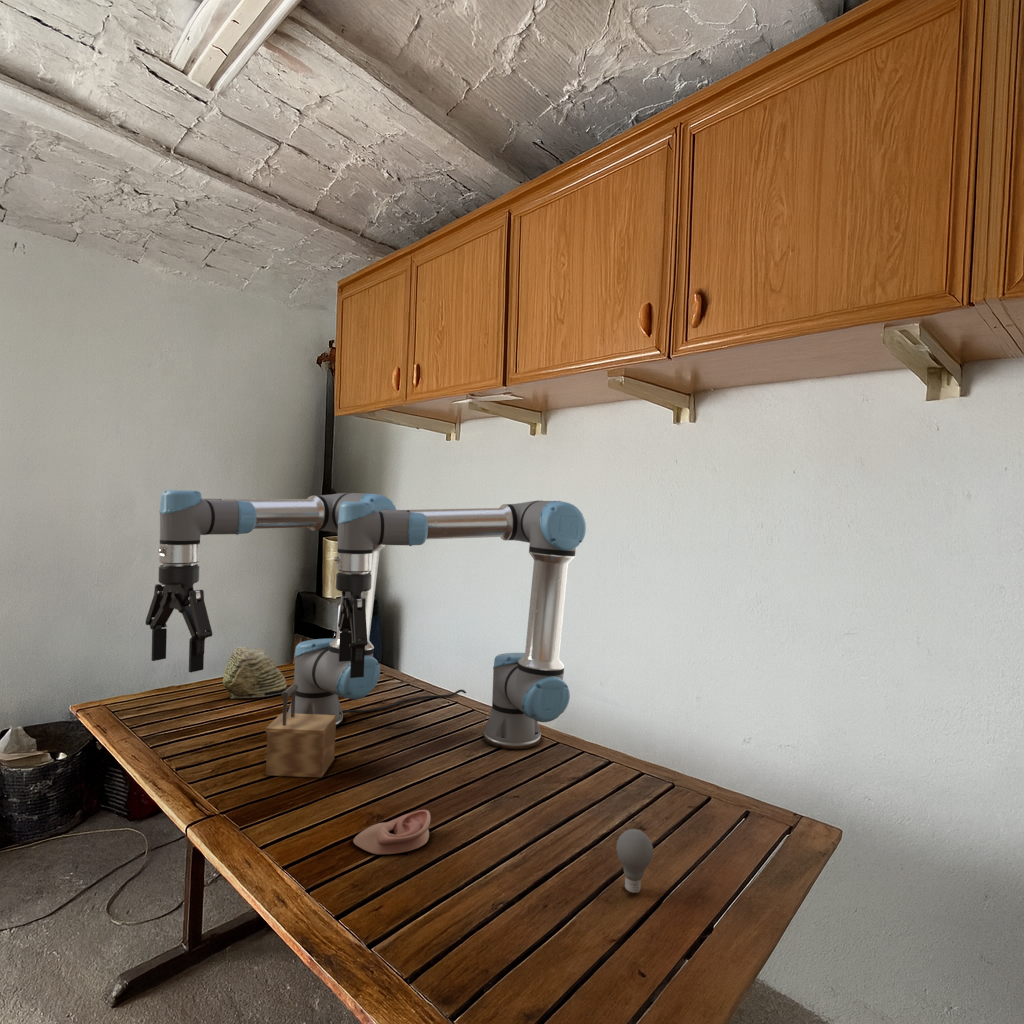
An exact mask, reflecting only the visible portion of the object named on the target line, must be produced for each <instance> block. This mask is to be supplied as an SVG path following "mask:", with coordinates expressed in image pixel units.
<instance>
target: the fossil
mask: <svg viewBox="0 0 1024 1024" xmlns="http://www.w3.org/2000/svg"><path fill="white" fill-rule="evenodd" d="M222 676H223V677H222V685H223V687H224V688H225V690H226V691H228V693H229V698H230V699H250V698H264V697H271V696H275V695H281V694H282V693H283V692H284V691H285V690H287V688H288V686H287V680H286V678H285V676H284V674H283V673H282V672H281V669H279V668H278V667H277V665H276V663H275V662H274V660H273V659H272V658H271V657H270V656H269V655H268V654H267V653H266V652H265V650H264V649H263V648H260V647H258V648H251V647H247V646H246V647H245V646H238V647H237V648H236V649H235V650H233V651H232V653H231V656H230V657H229V659H228V660H227V663H226V666H225V668H224V671H223V675H222Z"/></svg>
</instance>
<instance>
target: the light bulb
mask: <svg viewBox="0 0 1024 1024" xmlns="http://www.w3.org/2000/svg"><path fill="white" fill-rule="evenodd" d="M615 849H616V854H617V857H618V859H619V861H620V863H621V865H622V867H623V873H624V874H623V875H624V876H625V878H624V888H625V890H627V891H628V892H630V893H634V894H635V893H639V892H640V891H641V889H642V887H641V886H642V879H643V877H644V875H645V871H646V868H647V867H648V866H649V864H650V863H651V861H652V859H653V855H654V847H653V843H652V841H651V838H649V836H648V835H647V834H646V833H645V832H643V831H642V830H641V829H636V828H629V829H627V830H625V831H623V832H622V833H621V834H620V835H619V837H618V839H617V841H616V847H615Z"/></svg>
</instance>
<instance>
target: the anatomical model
mask: <svg viewBox="0 0 1024 1024" xmlns="http://www.w3.org/2000/svg"><path fill="white" fill-rule="evenodd" d="M430 824H431V813H430V811H429V810H428V809H420V810H419V809H418V810H416V811H412V812H409V813H405V814H403V815H401V816H398V817H396V818H394V819H391V820H389V821H385V822H378V823H375V824H373V825H370V826H369V827H367V828H365V829H364V830H362V831H360V832H359V833H358V834H357V835H355V837H354V838H353V839H352V842H353V844H354V845H355V846H356V847H358V848H360V849H362V850H363V851H365V852H368V853H369V854H374V855H378V856H379V855H393V854H400V853H402V854H403V853H406V852H410V851H413V850H417V849H419V848H421V847H422V846H424V845H426V844H427V842H428V841H429V838H430V830H429V827H430Z"/></svg>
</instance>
